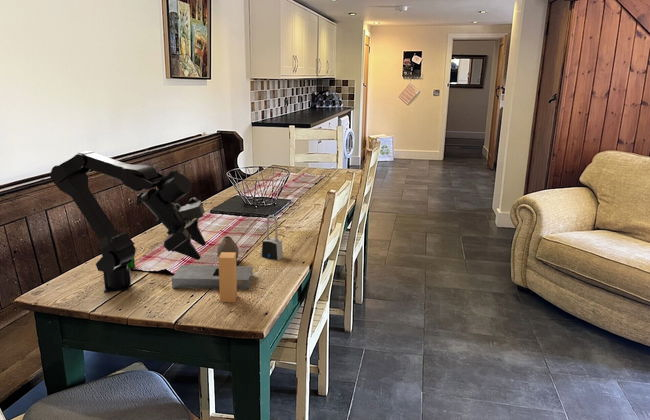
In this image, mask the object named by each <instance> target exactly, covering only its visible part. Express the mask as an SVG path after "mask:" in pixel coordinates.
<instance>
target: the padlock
mask: <svg viewBox="0 0 650 420" xmlns="http://www.w3.org/2000/svg"><path fill="white" fill-rule="evenodd" d="M270 218H273V219H274V223H275V224H274V225H275V237H270V236H269V235H270ZM261 244H262V245H261V255H260V257H261V258H263V259H267V260H271V261H272V260H273V261H280V260H281V259H283V258H284V253H283V252H284V251H283V240H280V239H278V219H277V217H276V216H274V215H273V214H270V215H268V216H267V217H266V238H265V239H263V240H261Z"/></svg>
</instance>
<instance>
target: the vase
mask: <svg viewBox="0 0 650 420" xmlns="http://www.w3.org/2000/svg"><path fill="white" fill-rule="evenodd" d="M221 252H234V253H236V261H237V259H238V258H239V247H238V244H237V243H236V242H235V241H234V239H233V238H232V237H231V236H230V235H226V236H223V239H222V240H221V242H220V243H219V244H218V246H217V250H216V256H217V258H218V260H219V256H220V254H221Z"/></svg>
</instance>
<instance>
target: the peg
mask: <svg viewBox="0 0 650 420" xmlns="http://www.w3.org/2000/svg"><path fill="white" fill-rule="evenodd" d="M218 266H219V287H220V289H219V302H222V303H236V300H237V297H238V289H237V274H236V266H237V260H236V253H234V252H221V254H220V256H219V259H218Z"/></svg>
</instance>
